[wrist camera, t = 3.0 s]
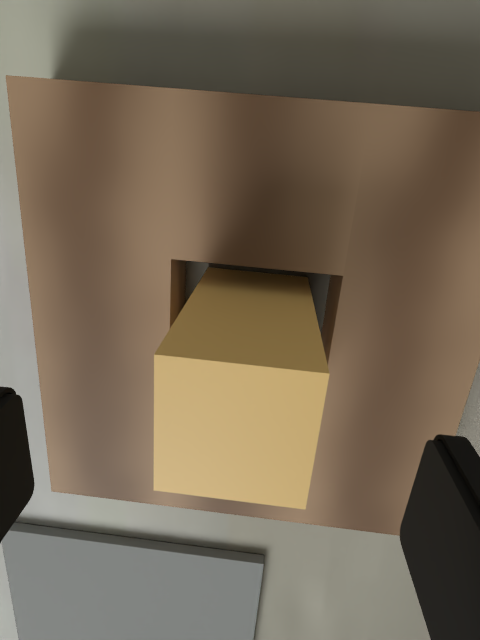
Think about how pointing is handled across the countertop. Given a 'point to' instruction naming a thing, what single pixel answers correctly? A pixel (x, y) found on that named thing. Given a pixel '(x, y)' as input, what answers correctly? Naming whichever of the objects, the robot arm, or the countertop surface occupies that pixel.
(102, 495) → the walnut cradle
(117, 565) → the grey mat
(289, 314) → the ochre block
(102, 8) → the countertop surface
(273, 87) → the countertop surface
